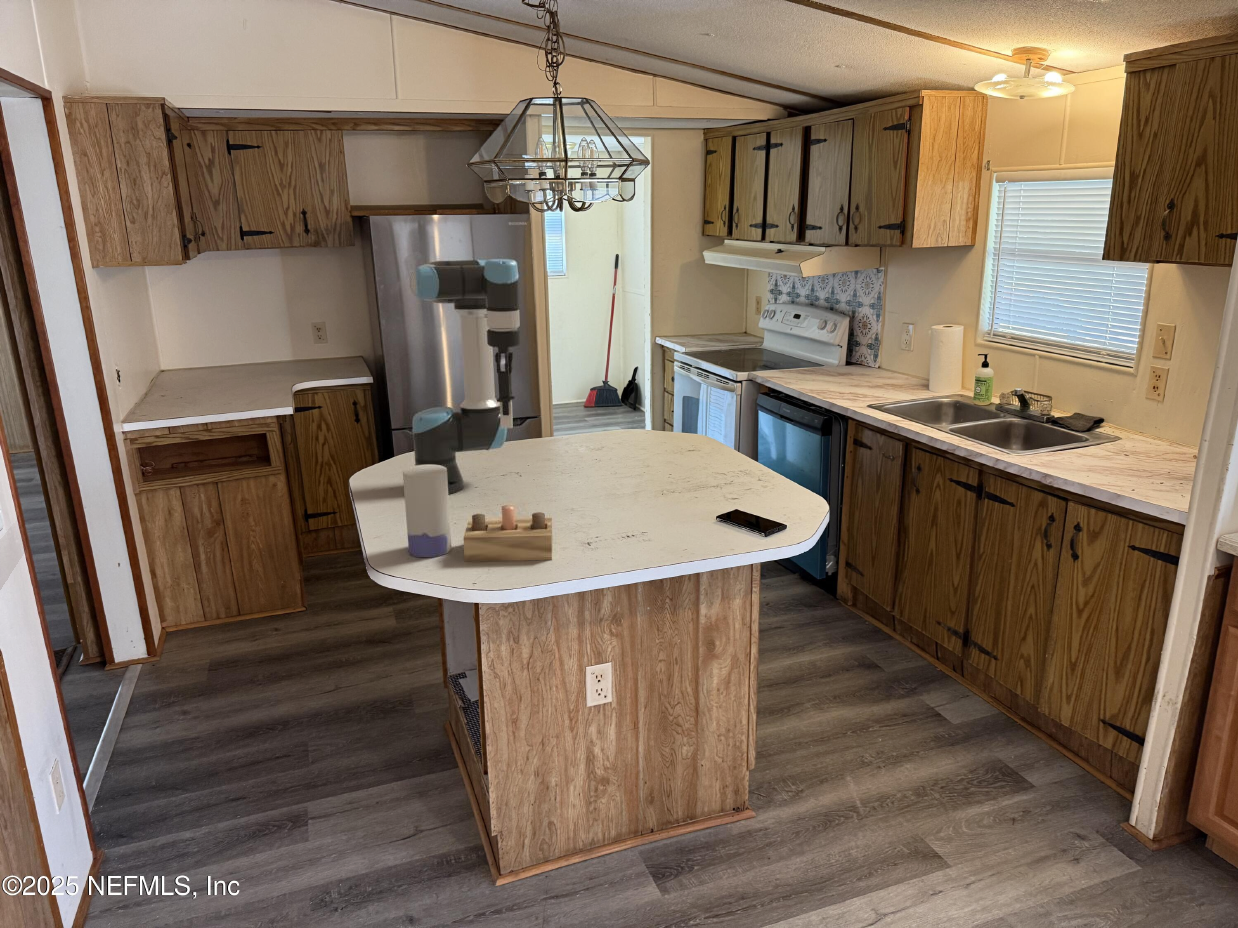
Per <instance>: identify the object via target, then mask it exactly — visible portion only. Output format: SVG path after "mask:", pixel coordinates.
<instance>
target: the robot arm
mask: <svg viewBox="0 0 1238 928" xmlns="http://www.w3.org/2000/svg"><path fill="white" fill-rule="evenodd" d="M518 270H519V269H518V262H517V261H516V260H514V259H509V258H494V259H493V258H492V259H486V260H485V259H472V260H471V259H467V260H462V259H461V260H437V261H435V260H434V261H430V262H426V263H424V264H421V265H418V266H417V267H415V269H413V271H412V272H411V274H410V277H409V287H410V289H411V292H412V293H413V294H414V296H416V297H417V298H418V299H419V300H422V301H426V302H430V303H436V304H453V306H454V308H453V309H454V310H453V311H455V312H456V313H457V314H458V315H459V318H460V330H461V331H460V332H461V350H462V369H463V370H462V371H463V384H464V400H463V401H462V402H461V404H460V405H459V408H460V411H454V409H453V408H452V407H451V406H437V407H431V408H428V409H427V408H426V409H424V410H421V411H419V412H417V413H416V414H414V416H413V417H412V430H411V431H412V434H413V448H414V466H417V465H440V466H444V467H445V468H447V481H448V495H450V494H454V493H457V492H460V491H461V490H462V489H463V488H464V479H463V478H464V477H463V475H462V473H461V470H460V468H459V466H458V463H457V456H456V455H457V454H456V453H463V452H464V453H466V452H476V451H477V452H478V451H491V450H495V449H501V448H502V447H503V446H504V444H505V442H506V439H507V433H508V432H507V431H508V429H513V427H514V426H513V401H512V400H515V396H514V395H513V391H512V372H513V360H514V352H511V350H510V349H511V348H515V347H518V346H519V345H520V344H521V333H520V332H521V331H520V329H519V327H520V325H521V322H520V307H519V306H520V305H519V304H520V301H519V299H520V297H519V276H520V275H519V271H518ZM493 348H497V352H495V355H494V353H493V352H494V351H493ZM494 360H495V363H496V373H497V381H498V382H497V383H498V396H499V397H498V398H496V393H495V392H496V391H495V390H496V389H495V372H494V371H495V370H494Z"/></svg>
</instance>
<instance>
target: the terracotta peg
mask: <svg viewBox="0 0 1238 928" xmlns="http://www.w3.org/2000/svg"><path fill="white" fill-rule="evenodd" d="M501 516H502V517H501V519H502V525H503V530H515V519H516V509H515V505H512V504H506V505H502V506H501Z"/></svg>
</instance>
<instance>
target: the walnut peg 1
mask: <svg viewBox="0 0 1238 928" xmlns="http://www.w3.org/2000/svg"><path fill="white" fill-rule="evenodd" d="M485 519H486V514H485V513H474V514H472V516H471V520H472V526H473V531H486V527H485Z"/></svg>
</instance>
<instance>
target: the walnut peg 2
mask: <svg viewBox="0 0 1238 928" xmlns="http://www.w3.org/2000/svg"><path fill="white" fill-rule="evenodd" d="M531 518H532V529H533V530H539V529H545V518H546V513H544V512H542V511H541V512H539V511H537V512H533V513H531Z"/></svg>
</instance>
